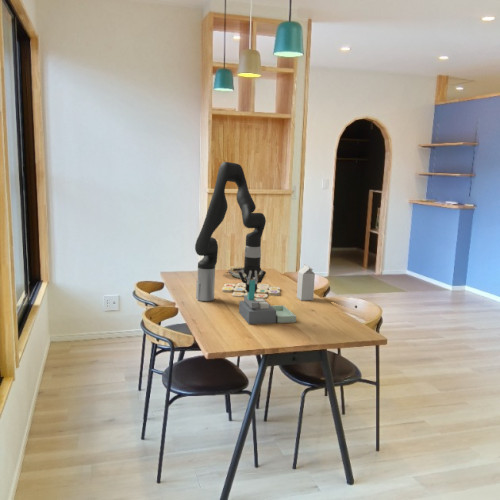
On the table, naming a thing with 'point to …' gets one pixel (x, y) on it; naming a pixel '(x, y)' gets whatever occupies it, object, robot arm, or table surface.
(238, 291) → the alphabet tiles
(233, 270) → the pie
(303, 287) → the milk carton
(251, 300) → the scraper
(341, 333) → the table surface
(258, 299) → the ceramic tile
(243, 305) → the block
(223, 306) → the table surface
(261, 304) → the ceramic tile
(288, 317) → the box
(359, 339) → the table surface
